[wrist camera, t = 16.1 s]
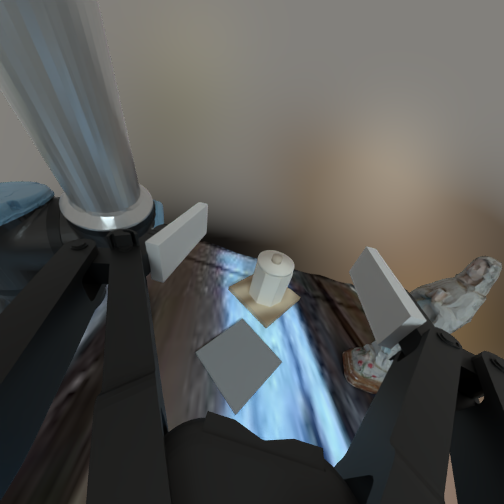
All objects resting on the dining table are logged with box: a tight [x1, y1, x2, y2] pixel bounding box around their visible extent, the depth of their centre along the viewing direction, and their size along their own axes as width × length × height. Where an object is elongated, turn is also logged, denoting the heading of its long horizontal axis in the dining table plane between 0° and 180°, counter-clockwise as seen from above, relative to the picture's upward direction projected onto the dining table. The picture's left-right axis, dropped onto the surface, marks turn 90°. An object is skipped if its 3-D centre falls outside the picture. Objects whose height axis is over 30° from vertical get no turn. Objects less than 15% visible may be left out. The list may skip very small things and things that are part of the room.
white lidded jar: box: [249, 250, 294, 307], centre depth 46 cm, size 9×9×12 cm
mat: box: [196, 319, 282, 415], centre depth 35 cm, size 12×12×1 cm
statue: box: [342, 256, 502, 394], centre depth 29 cm, size 8×7×30 cm
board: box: [229, 274, 300, 328], centre depth 49 cm, size 14×14×1 cm
